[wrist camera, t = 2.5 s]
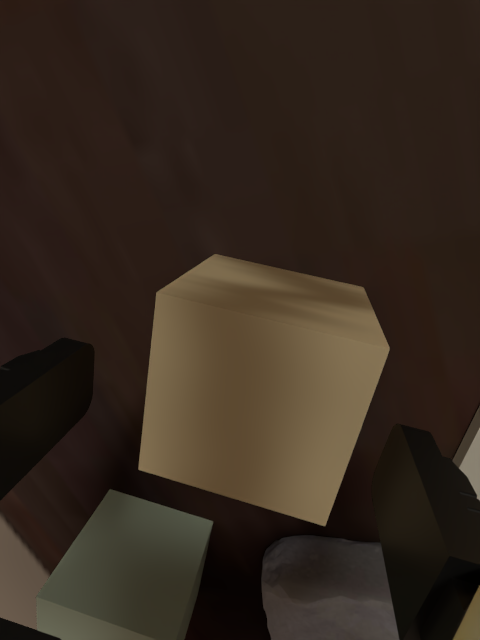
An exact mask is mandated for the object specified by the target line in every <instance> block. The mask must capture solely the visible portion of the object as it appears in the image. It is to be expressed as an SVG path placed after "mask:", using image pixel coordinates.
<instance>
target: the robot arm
mask: <svg viewBox="0 0 480 640" xmlns="http://www.w3.org/2000/svg"><path fill="white" fill-rule="evenodd" d="M93 376H94V348H93V346H92V345H91V344H88V343H84V342H80V341H76V340H72V339H68V338H61V339H59V340H57V341H56V342H54V343H53V344H51V345H49V346H48V347H46V348H44V349H43V350H38V351H34V352H31V353H28V354H24V355H21V356H18V357H16V358H14V359H13V360H11V361H9V362H7V363H6V364H4V365H2V366H1V368H0V500H1V499H2V498H3V497H4V496H5V495H6V494H7V493H8V492H9V491H10V490H11V489H12V488H13V487H14V486H15V485H16V484H17V483H18V482H19V481H20V480H21V479H22V478H23V477H24V476H25V475H26V474H27V473H28V472H29V471H30V470H31V469H32V468H33V467H34V466H35V465H36V464H37V463H38V462H39V461H40V460H41V459H42V458H43V457H44V456H45V455H46V454H47V453H48V452H49V451H50V450H51V449H52V448H53V447H54V446H55V445H56V444H57V443H58V442H59V441H60V440H61V439H62V438H63V437H64V436H65V435H66V434H67V432H68V431H69V430H70V429H71V428H72V427H73V426H74V425H75V424H76V423H77V422H78V421H79V420H80V419H81V418H82V417H83V416H84V415H85V413H86V412H87V410H88V408H89V406H90V403H91V400H92V395H93ZM372 501H373V506H374V511H375V516H376V521H377V527H378V532H379V537H380V542H381V547H382V552H383V558H384V563H385V568H386V573H387V578H388V583H389V589H390V594H391V599H392V604H393V609H394V614H395V620H396V625H397V630H398V635H399V640H480V500H479V499H477V494H476V492H475V491H474V489H473V487H472V485H471V483H470V481H469V479H468V477H467V476H466V475H465V474H464V473H463V472H462V471H461V470H460V469H459V468H458V467H457V466H456V465H455V464H454V463H453V461H452V460H451V459H450V458H446V457H442V455H441V453H440V451H439V449H438V447H437V445H436V443H435V440H434V438H433V436H432V435H431V433H430V432H428V431H424V430H420V429H417V428H413V427H409V426H405V425H401V424H396V425H395V426H394V427H393V428H392V430H391V432H390V435H389V437H388V440H387V442H386V445H385V447H384V450H383V452H382V455H381V457H380V460H379V462H378V465H377V467H376V470H375V472H374V476H373V481H372ZM0 640H61V639H60V638H58V637H55V636H52V635H49V634H47V633H44V632H41V631H38V630H35V629H32V628H29V627H26V626H23V625H20V624H17V623H15V622H12V621H8V620H6V619H3V618H0Z"/></svg>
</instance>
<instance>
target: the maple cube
mask: <svg viewBox="0 0 480 640" xmlns="http://www.w3.org/2000/svg"><path fill="white" fill-rule="evenodd" d="M389 350H390V348H389V345H388V343H387V341H386V338H385V336H384V334H383V331H382V329H381V327H380V324H379V322H378V320H377V318H376V315H375V313H374V311H373V308H372V306H371V304H370V301H369V299H368V297H367V294H366V292H365V290H364V287H360V286H355V285H351V284H346V283H342V282H337V281H333V280H328V279H324V278H319V277H315V276H311V275H306V274H302V273H297V272H293V271H288V270H284V269H279V268H275V267H270V266H266V265H261V264H257V263H253V262H248V261H244V260H239V259H235V258H230V257H226V256H221V255H217V254H214V255H213V256H211V257H210V258H208V259H207V260H205V261H204V262H202V263H201V264H199V265H198V266H196V267H195V268H193V269H191V270H190V271H188V272H187V273H185V274H184V275H182V276H181V277H179V278H178V279H176V280H175V281H173V282H172V283H170V284H169V285H167V286H166V287H164V288H163V289H161V290H160V291H158V292H157V294H156V303H155V313H154V323H153V332H152V342H151V352H150V361H149V371H148V381H147V391H146V400H145V410H144V420H143V429H142V439H141V449H140V458H139V468H138V470H141V471H144V472H148V473H151V474H154V475H158V476H161V477H164V478H167V479H171V480H174V481H177V482H181V483H184V484H187V485H190V486H194V487H197V488H200V489H204V490H207V491H210V492H214V493H217V494H220V495H223V496H227V497H230V498H233V499H237V500H240V501H243V502H247V503H250V504H253V505H256V506H260V507H263V508H266V509H270V510H273V511H276V512H279V513H283V514H286V515H289V516H293V517H296V518H299V519H303V520H306V521H309V522H312V523H316V524H319V525H322V526H326V523H327V520H328V517H329V515H330V512H331V509H332V506H333V504H334V501H335V498H336V495H337V493H338V490H339V487H340V484H341V482H342V479H343V476H344V473H345V471H346V468H347V465H348V462H349V460H350V457H351V454H352V451H353V449H354V446H355V443H356V441H357V438H358V435H359V432H360V430H361V427H362V424H363V421H364V419H365V416H366V413H367V410H368V408H369V405H370V402H371V399H372V397H373V394H374V391H375V388H376V386H377V383H378V380H379V377H380V375H381V372H382V369H383V366H384V364H385V361H386V358H387V355H388V353H389Z"/></svg>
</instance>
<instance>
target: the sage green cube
mask: <svg viewBox="0 0 480 640" xmlns="http://www.w3.org/2000/svg"><path fill="white" fill-rule="evenodd" d="M212 525H213V521H210V520H207V519H204V518H201V517H198V516H194V515H191V514H188V513H185V512H182V511H178V510H175V509H172V508H169V507H166V506H163V505H159V504H156V503H153V502H150V501H147V500H143V499H140V498H137V497H134V496H131V495H127V494H124V493H121V492H118V491H115V490H111V489H110V490H109V491H108V493H107V494H106V496H105V497H104V499H103V500H102V501H101V503H100V504H99V506H98V507H97V509H96V510H95V512H94V513H93V515H92V516H91V517H90V519H89V520H88V522H87V523H86V525H85V526H84V528H83V529H82V531H81V532H80V533H79V535H78V536H77V538H76V539H75V541H74V542H73V544H72V545H71V547H70V548H69V549H68V551H67V552H66V554H65V555H64V557H63V558H62V560H61V561H60V563H59V564H58V566H57V567H56V568H55V570H54V571H53V573H52V574H51V576H50V577H49V579H48V580H47V582H46V583H45V585H44V586H43V587H42V589H41V590H40V592H39V593H38V595H37V596H36V607H37V608H36V609H37V630H38V631H41V632H44V633H47V634H49V635H52V636H55V637H58V638H60V639H61V640H184V639H185V636H186V633H187V629H188V626H189V622H190V619H191V616H192V612H193V609H194V606H195V602H196V599H197V595H198V591H199V587H200V582H201V577H202V572H203V568H204V563H205V558H206V554H207V549H208V544H209V539H210V535H211V530H212Z"/></svg>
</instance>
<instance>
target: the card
mask: <svg viewBox="0 0 480 640" xmlns="http://www.w3.org/2000/svg"><path fill="white" fill-rule="evenodd" d="M452 461H453V463H454V464H455V465H456V466H457V467H458V468H459V469H460V470H461V471H462V472H463V473H464V474H465V475H466V476H467V477H468V479H469V481H470V483H471V485H472V487H473V489H474V491H475V492H476V494H477V499H479V500H480V406H479V408H478V410H477V412H476V414H475V416H474V418H473V420H472V422H471V424H470V426H469V428H468V430H467V432H466V434H465V436H464V438H463V440H462V442H461V444H460V446H459V448H458V450H457V452H456V454H455V456H454V458H453V460H452Z"/></svg>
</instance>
